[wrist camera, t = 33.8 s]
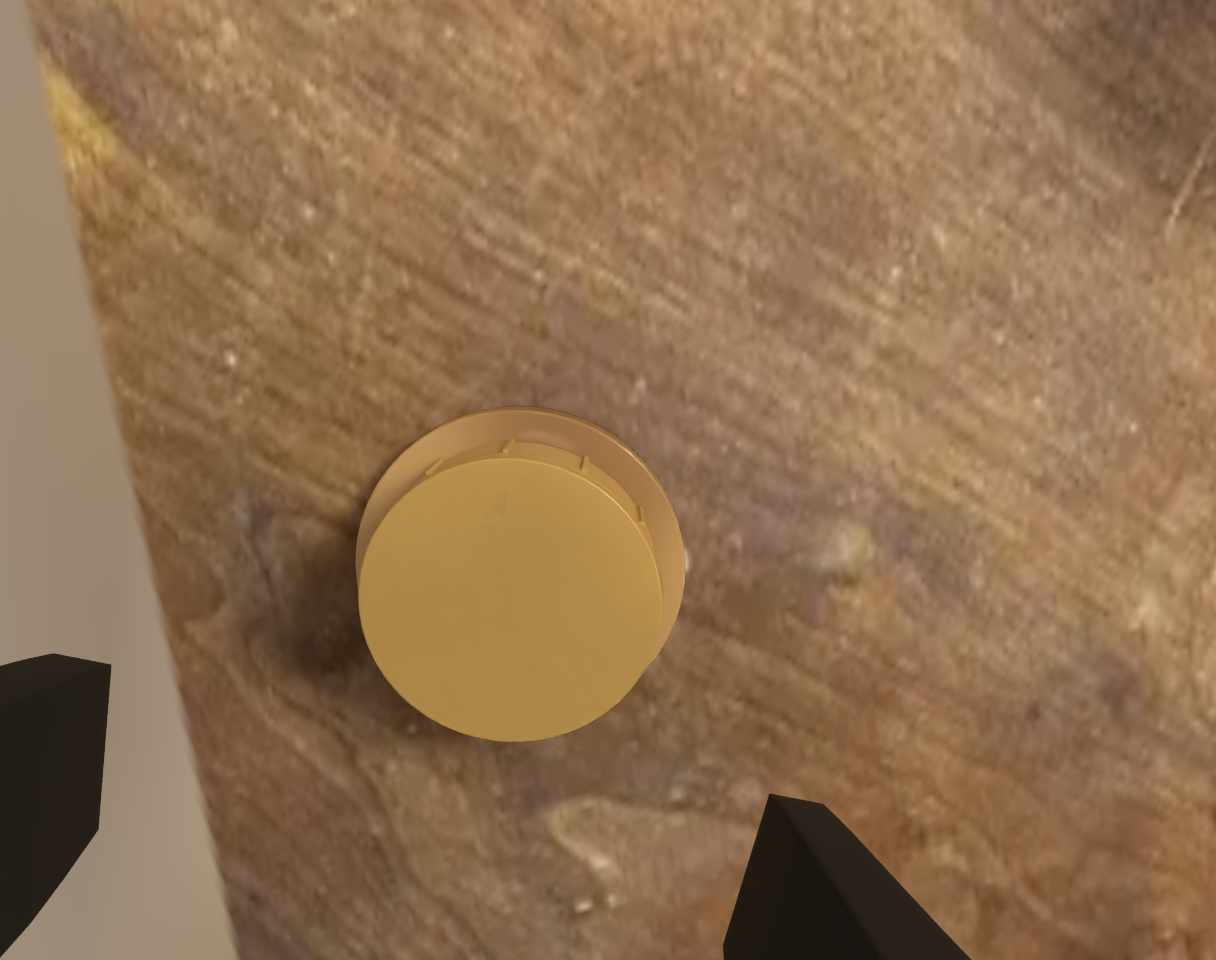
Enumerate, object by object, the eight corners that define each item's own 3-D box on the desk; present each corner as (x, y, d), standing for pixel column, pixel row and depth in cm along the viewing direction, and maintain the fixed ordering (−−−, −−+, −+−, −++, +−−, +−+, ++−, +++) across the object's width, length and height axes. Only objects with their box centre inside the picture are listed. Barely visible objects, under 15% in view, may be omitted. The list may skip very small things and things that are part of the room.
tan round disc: (408, 735, 18) (402, 746, 18) (322, 441, 16) (314, 446, 16) (707, 679, 18) (711, 690, 17) (650, 375, 16) (652, 378, 16)
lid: (619, 726, 17) (620, 770, 16) (360, 668, 17) (334, 707, 15) (688, 478, 16) (697, 499, 14) (408, 410, 16) (386, 424, 14)
